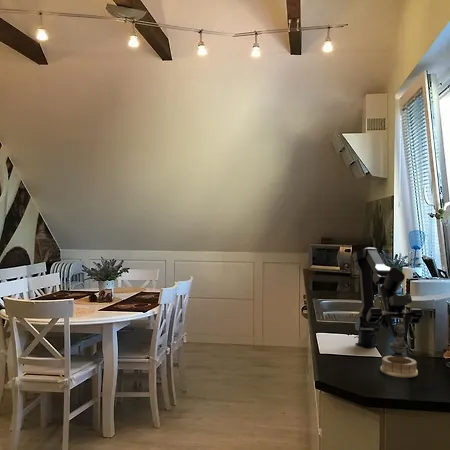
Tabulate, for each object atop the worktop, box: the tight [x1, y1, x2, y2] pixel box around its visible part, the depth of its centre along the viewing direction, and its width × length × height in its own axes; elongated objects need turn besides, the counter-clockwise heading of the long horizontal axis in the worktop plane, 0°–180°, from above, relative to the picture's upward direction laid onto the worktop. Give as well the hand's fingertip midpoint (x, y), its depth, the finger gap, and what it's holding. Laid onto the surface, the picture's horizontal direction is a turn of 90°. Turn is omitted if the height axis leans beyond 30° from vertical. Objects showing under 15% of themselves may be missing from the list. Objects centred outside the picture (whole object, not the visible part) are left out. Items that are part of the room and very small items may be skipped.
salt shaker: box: [389, 320, 409, 358], centre depth 172 cm, size 6×6×12 cm
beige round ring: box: [380, 355, 419, 379], centre depth 172 cm, size 12×12×4 cm
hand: (400, 337), depth 170 cm, fingers closed on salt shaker, 4 cm apart
